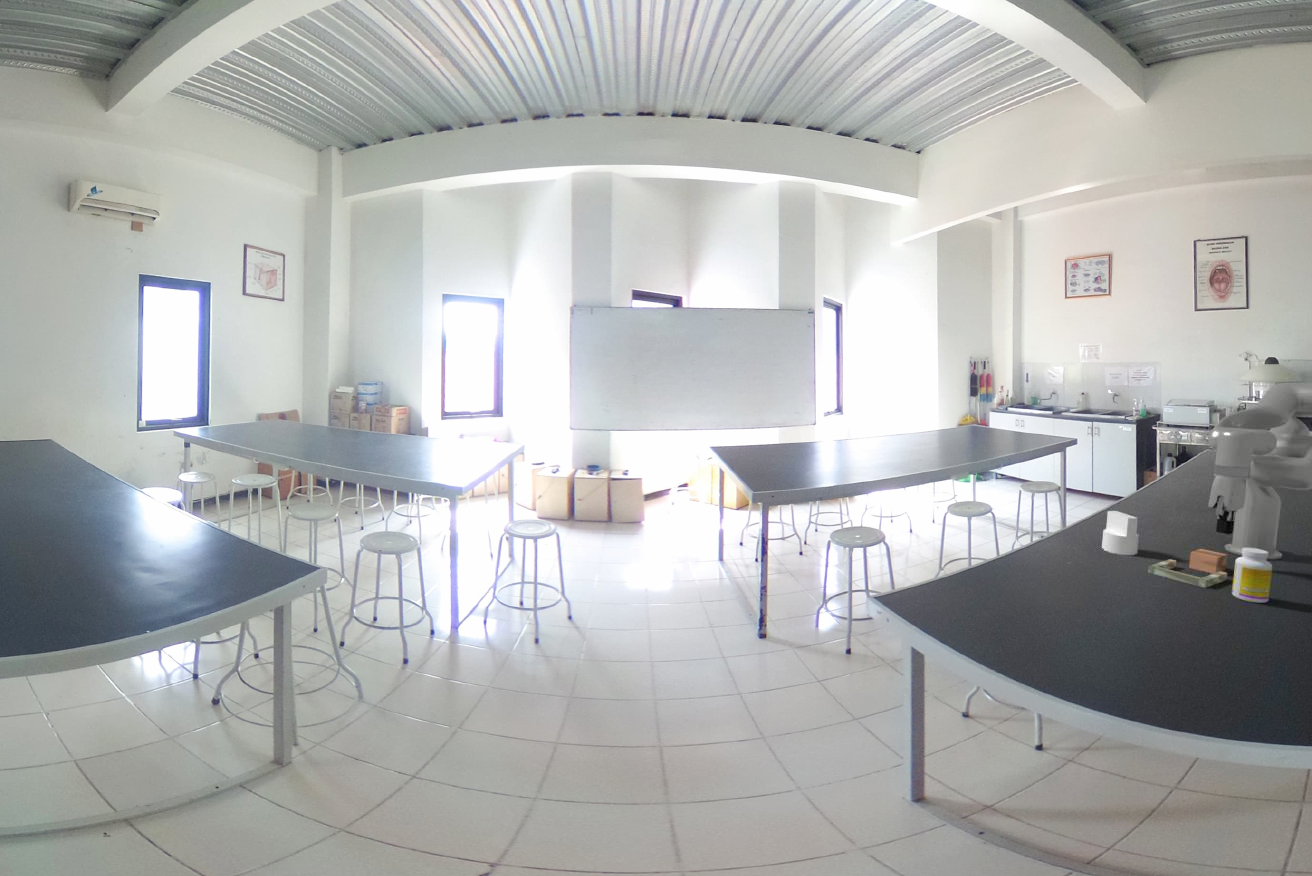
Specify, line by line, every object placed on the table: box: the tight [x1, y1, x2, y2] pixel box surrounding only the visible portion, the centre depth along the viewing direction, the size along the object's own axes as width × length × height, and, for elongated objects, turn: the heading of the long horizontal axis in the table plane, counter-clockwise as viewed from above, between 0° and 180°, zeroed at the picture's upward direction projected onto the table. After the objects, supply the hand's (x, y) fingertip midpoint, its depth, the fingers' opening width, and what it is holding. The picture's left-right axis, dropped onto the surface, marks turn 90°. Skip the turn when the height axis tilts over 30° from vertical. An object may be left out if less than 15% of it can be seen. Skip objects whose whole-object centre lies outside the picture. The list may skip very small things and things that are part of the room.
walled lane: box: [1147, 559, 1228, 588], centre depth 164 cm, size 12×13×2 cm
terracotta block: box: [1188, 548, 1228, 575], centre depth 169 cm, size 6×6×5 cm
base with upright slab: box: [1101, 510, 1140, 556], centre depth 186 cm, size 9×9×12 cm
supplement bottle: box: [1231, 548, 1273, 604], centre depth 148 cm, size 7×7×13 cm
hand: (1224, 532), depth 172 cm, fingers closed
